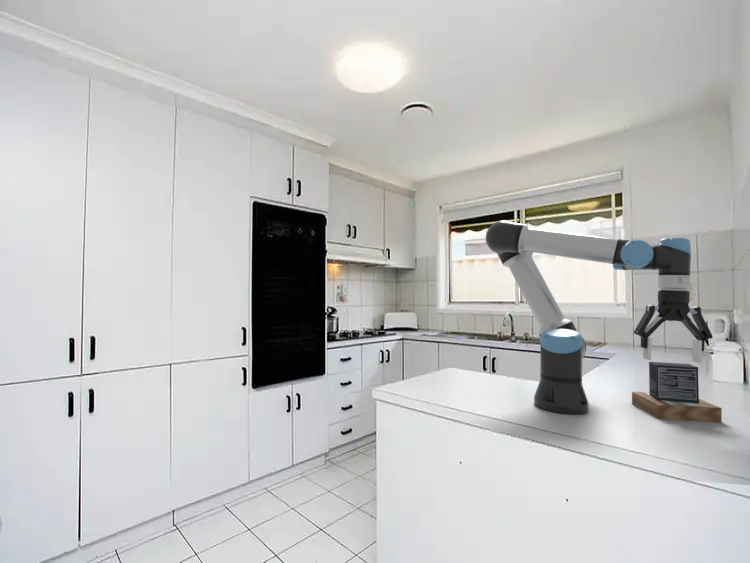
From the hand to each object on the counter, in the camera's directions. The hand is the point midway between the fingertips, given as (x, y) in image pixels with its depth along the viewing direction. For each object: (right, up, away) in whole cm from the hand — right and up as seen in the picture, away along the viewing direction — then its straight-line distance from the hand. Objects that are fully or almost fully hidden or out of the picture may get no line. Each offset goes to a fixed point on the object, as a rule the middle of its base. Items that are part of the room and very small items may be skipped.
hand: (671, 360), depth 114 cm
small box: (0, -12, 0) cm, 12 cm away
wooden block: (0, -15, -1) cm, 15 cm away
